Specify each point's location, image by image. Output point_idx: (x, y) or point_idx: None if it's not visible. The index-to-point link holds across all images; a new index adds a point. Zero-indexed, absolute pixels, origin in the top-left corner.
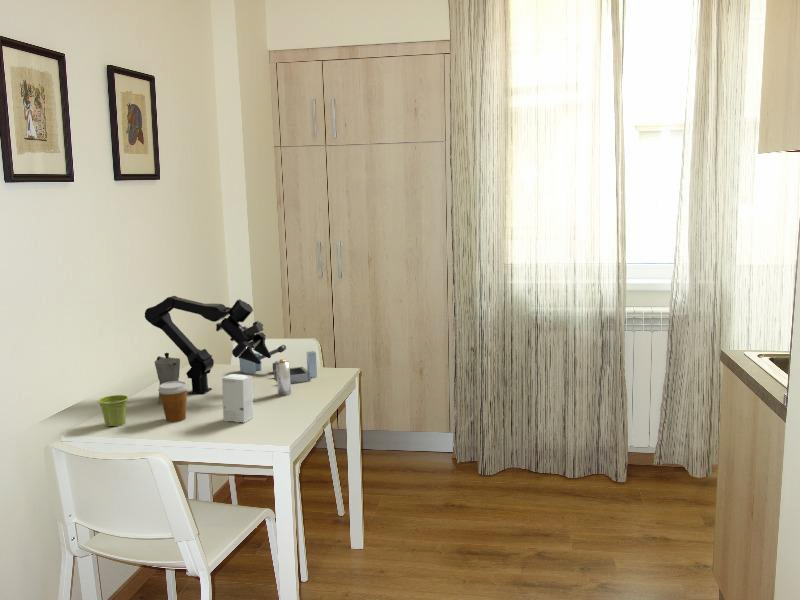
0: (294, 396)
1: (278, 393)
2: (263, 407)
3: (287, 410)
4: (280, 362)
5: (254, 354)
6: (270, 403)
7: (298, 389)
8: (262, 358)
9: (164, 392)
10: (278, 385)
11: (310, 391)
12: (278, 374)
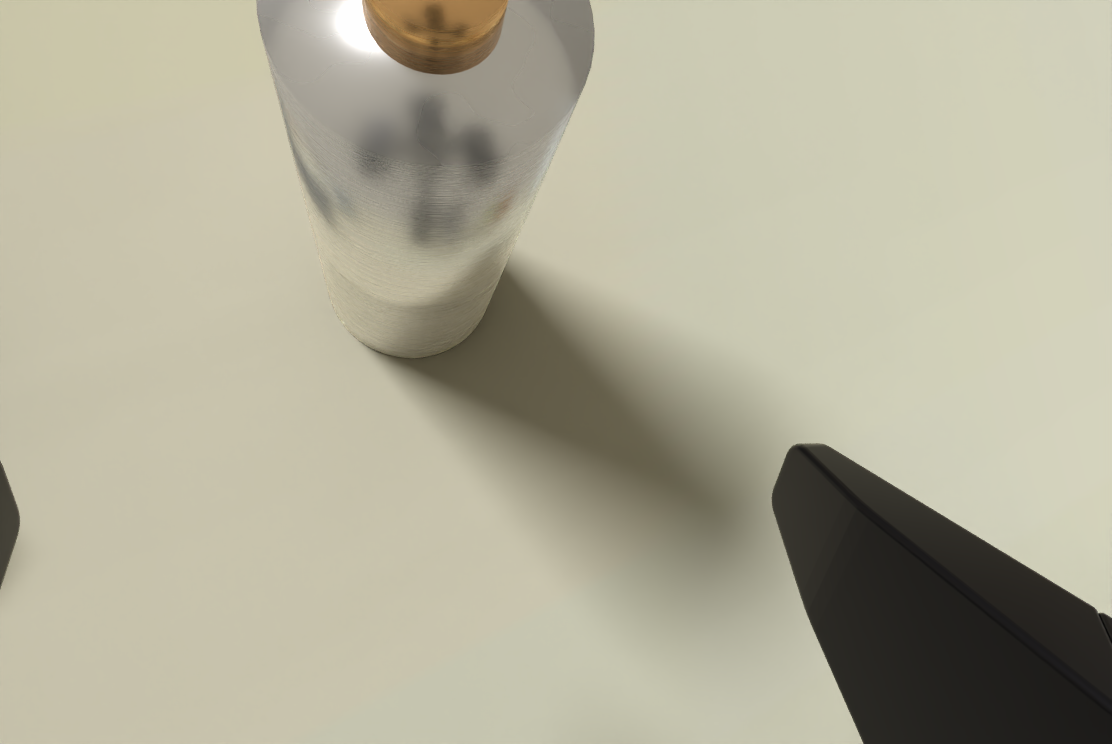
0: None
1: (472, 328)
2: (893, 335)
3: (915, 84)
4: (500, 35)
5: (1093, 649)
6: (765, 314)
7: (179, 173)
8: None
9: None
10: (495, 284)
11: None
12: (532, 201)
